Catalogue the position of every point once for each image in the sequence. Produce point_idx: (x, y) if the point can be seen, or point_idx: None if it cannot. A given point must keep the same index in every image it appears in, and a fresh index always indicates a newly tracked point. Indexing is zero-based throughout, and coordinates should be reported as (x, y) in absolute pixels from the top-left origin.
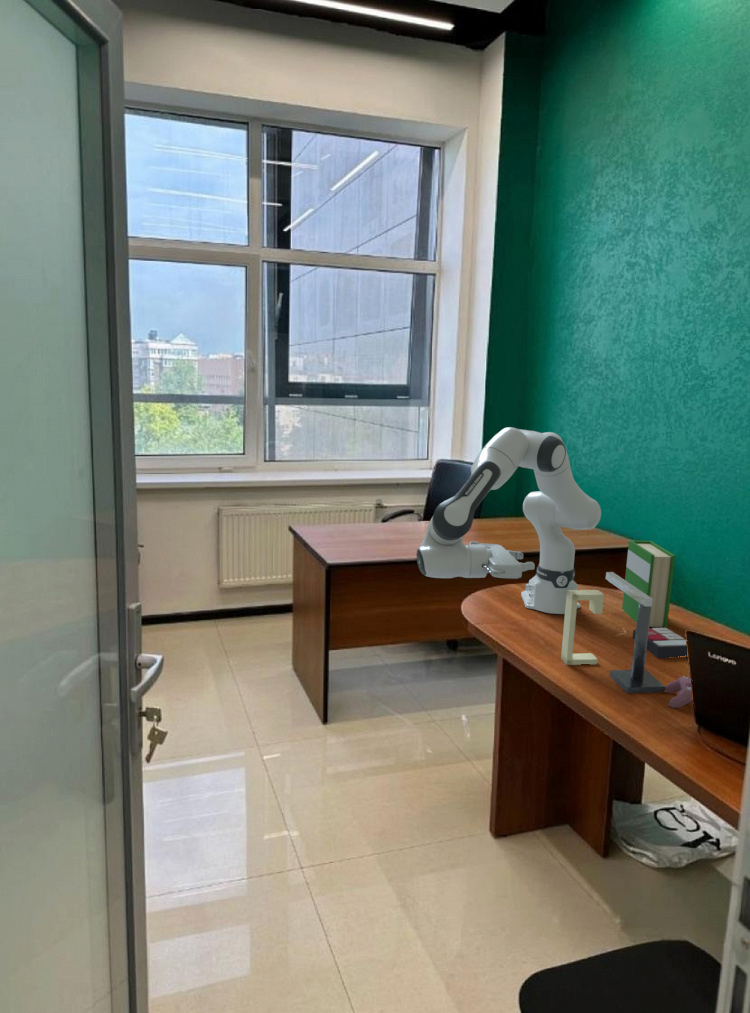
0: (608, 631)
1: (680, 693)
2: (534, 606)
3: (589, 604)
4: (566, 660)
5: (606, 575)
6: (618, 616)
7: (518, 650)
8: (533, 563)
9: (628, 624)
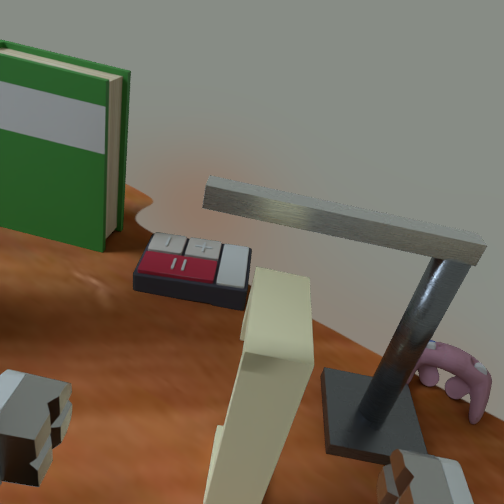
0: (76, 305)
1: (435, 378)
2: None
3: (244, 326)
4: None
5: (209, 196)
6: (13, 246)
7: None
8: (461, 468)
9: (64, 256)
